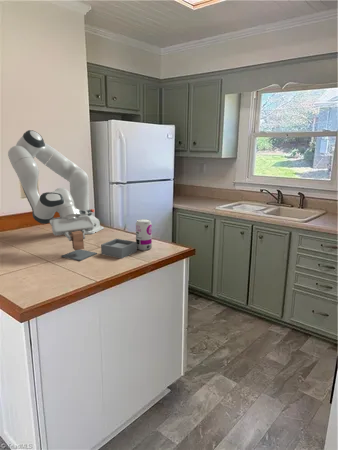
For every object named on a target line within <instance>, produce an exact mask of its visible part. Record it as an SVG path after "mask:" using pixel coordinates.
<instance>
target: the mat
mask: <svg viewBox="0 0 338 450" xmlns="http://www.w3.org/2000/svg"><path fill="white" fill-rule="evenodd" d="M97 254H98V252H94V251H90V250H85V249H80V250H73V251H70V252H67V253H64V254H62V255H60V256H61V258H65V259H69V260H74V261H79V262H81V261H83V260H86V259H88V258H90V257H93V256H96V255H97Z"/></svg>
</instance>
